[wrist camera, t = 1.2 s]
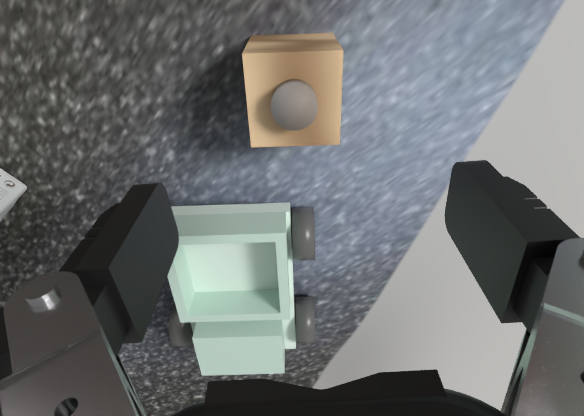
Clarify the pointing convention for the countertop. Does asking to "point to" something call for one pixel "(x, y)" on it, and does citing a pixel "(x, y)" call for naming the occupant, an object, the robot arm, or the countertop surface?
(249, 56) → the wooden block with knob
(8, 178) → the skincare box
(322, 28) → the countertop surface
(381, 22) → the countertop surface
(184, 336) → the chassis
